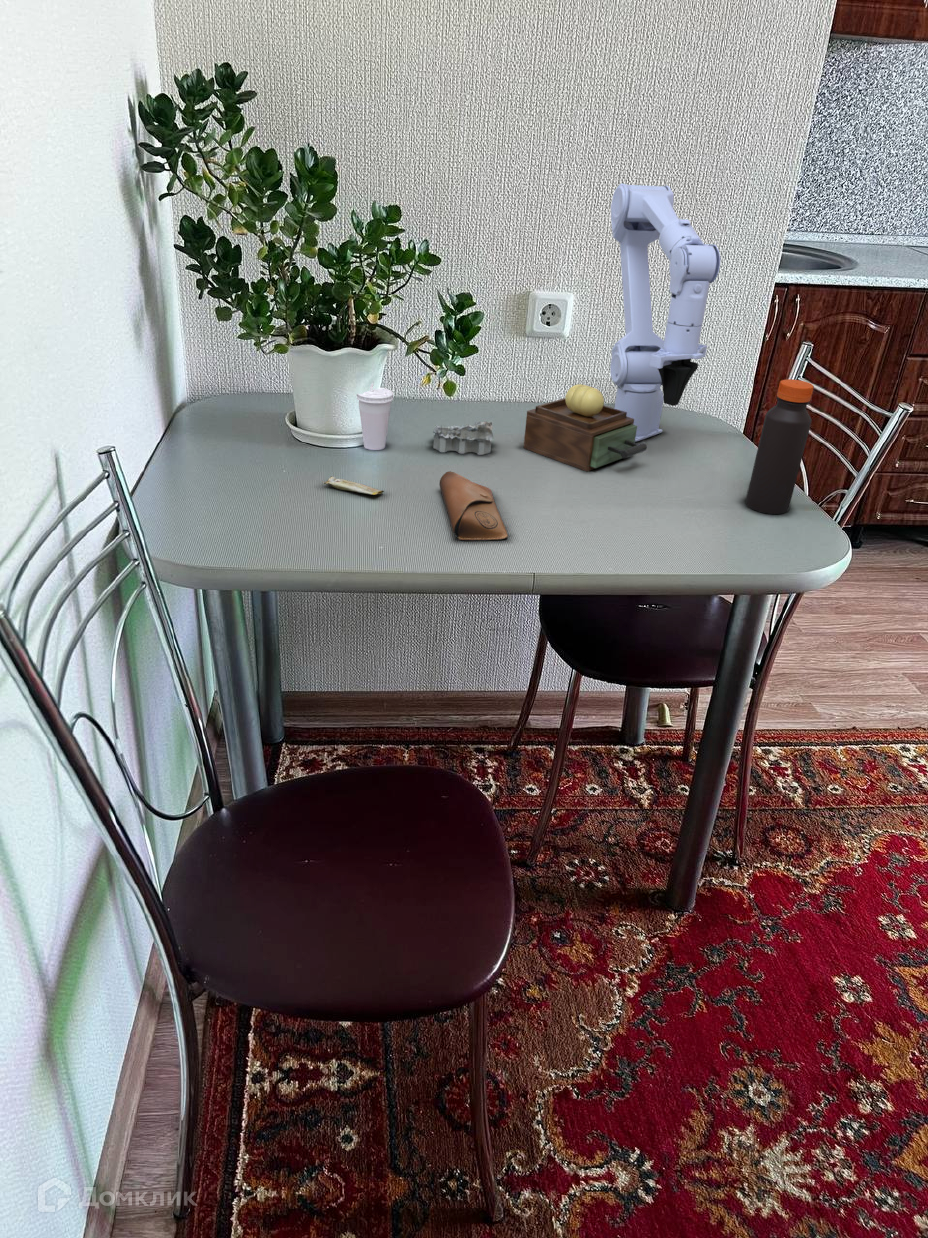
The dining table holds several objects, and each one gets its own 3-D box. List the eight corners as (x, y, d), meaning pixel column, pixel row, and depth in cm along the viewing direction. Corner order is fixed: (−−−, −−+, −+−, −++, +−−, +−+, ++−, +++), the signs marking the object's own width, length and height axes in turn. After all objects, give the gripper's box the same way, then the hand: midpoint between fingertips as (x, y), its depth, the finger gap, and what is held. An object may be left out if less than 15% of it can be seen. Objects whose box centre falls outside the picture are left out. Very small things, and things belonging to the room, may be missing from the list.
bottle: (788, 502, 147) (820, 381, 137) (787, 518, 142) (820, 392, 131) (746, 495, 149) (774, 374, 139) (743, 510, 143) (772, 385, 133)
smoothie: (356, 439, 161) (356, 361, 154) (392, 440, 162) (393, 362, 154) (355, 452, 155) (355, 371, 148) (393, 453, 156) (394, 372, 149)
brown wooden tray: (572, 400, 165) (573, 395, 165) (626, 417, 159) (627, 412, 158) (535, 411, 159) (535, 406, 158) (589, 429, 152) (590, 424, 151)
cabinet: (628, 455, 162) (634, 418, 158) (587, 471, 154) (592, 432, 150) (565, 434, 170) (570, 398, 167) (523, 448, 162) (526, 410, 159)
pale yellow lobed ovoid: (573, 409, 162) (579, 381, 161) (605, 420, 158) (612, 391, 156) (556, 408, 159) (563, 380, 157) (589, 419, 155) (596, 390, 153)
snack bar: (384, 489, 140) (376, 489, 137) (383, 499, 140) (374, 499, 138) (332, 475, 143) (322, 475, 140) (330, 485, 144) (320, 484, 141)
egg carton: (493, 443, 164) (495, 421, 162) (490, 457, 157) (492, 435, 155) (435, 437, 164) (436, 415, 162) (429, 451, 158) (430, 429, 156)
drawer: (652, 460, 158) (657, 432, 155) (615, 475, 151) (620, 445, 148) (573, 433, 168) (576, 406, 165) (535, 446, 161) (538, 418, 158)
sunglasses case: (512, 537, 128) (492, 500, 125) (469, 560, 129) (447, 523, 126) (490, 488, 144) (472, 454, 140) (452, 509, 144) (432, 475, 141)
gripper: (682, 332, 142) (667, 417, 148) (728, 322, 151) (712, 402, 158) (644, 324, 146) (632, 406, 152) (691, 314, 155) (678, 392, 162)
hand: (670, 403), depth 155 cm, fingers closed
